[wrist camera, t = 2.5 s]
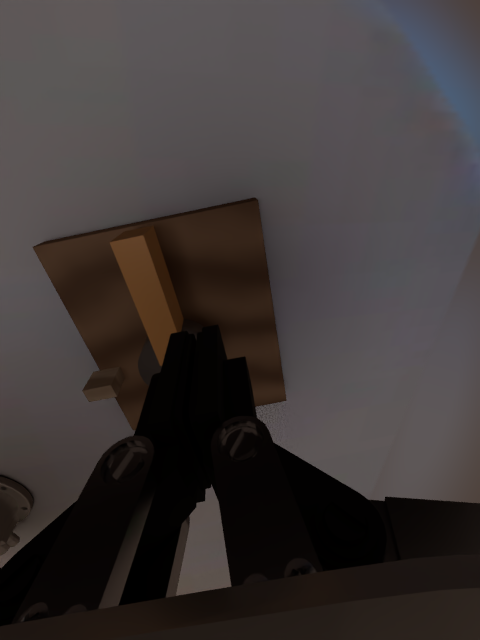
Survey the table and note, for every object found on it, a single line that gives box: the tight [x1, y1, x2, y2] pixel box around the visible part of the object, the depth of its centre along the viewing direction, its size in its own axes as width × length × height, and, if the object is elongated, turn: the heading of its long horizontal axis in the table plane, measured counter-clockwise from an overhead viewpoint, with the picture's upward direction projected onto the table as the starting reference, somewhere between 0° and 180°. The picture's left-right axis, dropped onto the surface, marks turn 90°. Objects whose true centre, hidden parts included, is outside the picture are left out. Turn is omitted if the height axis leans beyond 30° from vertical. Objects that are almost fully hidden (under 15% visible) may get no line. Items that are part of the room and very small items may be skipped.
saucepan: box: [110, 226, 204, 386], centre depth 25 cm, size 16×7×4 cm, turn 11°
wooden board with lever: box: [33, 198, 286, 430], centre depth 30 cm, size 24×21×5 cm
